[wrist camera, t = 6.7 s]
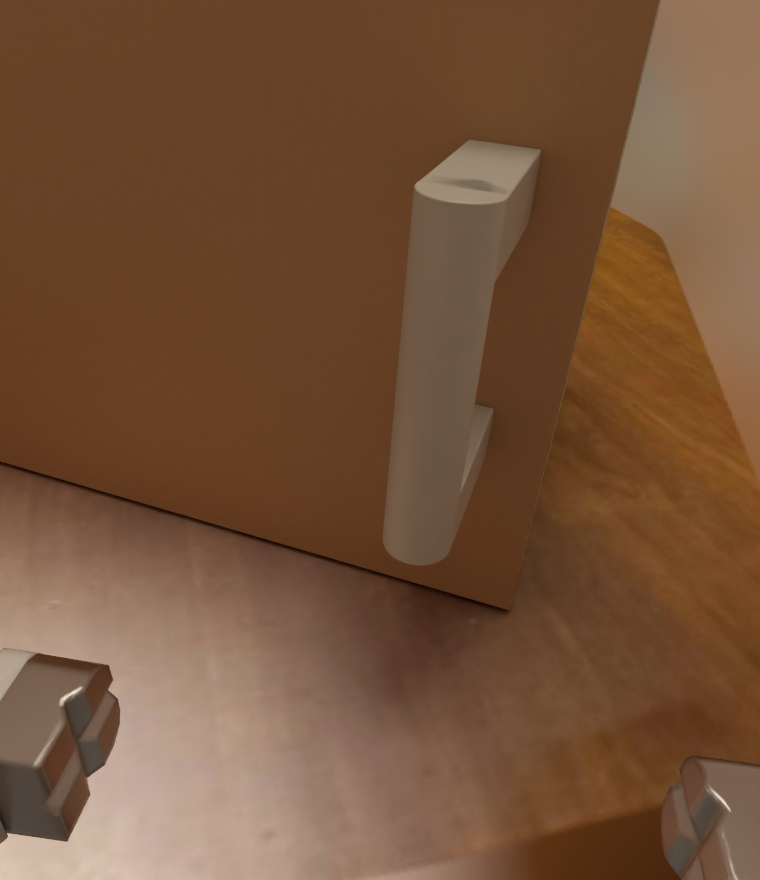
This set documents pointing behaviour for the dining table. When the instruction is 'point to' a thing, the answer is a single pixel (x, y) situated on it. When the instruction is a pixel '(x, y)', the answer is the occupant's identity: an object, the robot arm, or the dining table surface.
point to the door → (308, 260)
